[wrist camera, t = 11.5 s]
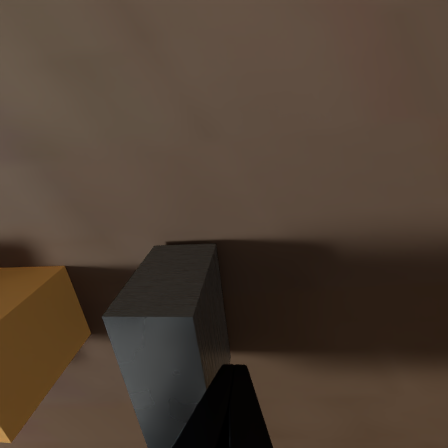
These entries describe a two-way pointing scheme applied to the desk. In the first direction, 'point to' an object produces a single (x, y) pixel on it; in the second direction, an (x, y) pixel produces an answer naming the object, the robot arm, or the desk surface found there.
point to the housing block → (35, 339)
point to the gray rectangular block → (169, 336)
